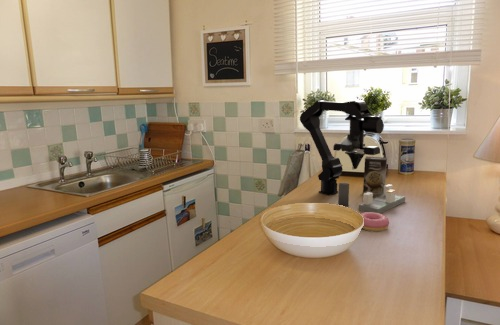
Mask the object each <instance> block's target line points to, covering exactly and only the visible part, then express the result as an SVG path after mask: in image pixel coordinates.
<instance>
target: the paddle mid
mask: <svg viewBox="0 0 500 325" xmlns="http://www.w3.org/2000/svg"><path fill="white" fill-rule="evenodd" d="M395 195H396V190H395V189H393V190H391V189H390V190H388V191H386V201H385V202H387V203H392V202H394V201H395Z"/></svg>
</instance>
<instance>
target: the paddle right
mask: <svg viewBox="0 0 500 325" xmlns="http://www.w3.org/2000/svg"><path fill="white" fill-rule="evenodd" d="M393 188H394V185H393V184H390V183H388V184H385V186H384V195H385V196H386V191H388V190H390V189H391V190H394V189H393Z"/></svg>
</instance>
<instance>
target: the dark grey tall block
mask: <svg viewBox="0 0 500 325" xmlns="http://www.w3.org/2000/svg"><path fill="white" fill-rule="evenodd" d="M337 194H338V196H337V197H338V199H337V200H338V202H337V205H338V204H339V205H343V206H348V207H349V201H350V200H349V198H350V196H349V195H350V183H349V182H338V193H337Z"/></svg>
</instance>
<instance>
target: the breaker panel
mask: <svg viewBox="0 0 500 325" xmlns="http://www.w3.org/2000/svg"><path fill="white" fill-rule="evenodd" d="M385 201H386V196H385V195H384V194H383V195H381V196H379V195H377V196H376V197H373V203H371V204H369V205H366V204H363V202H362V203H360V204H358V210H359V211H363V212H365V213H366V212H374V213H379V214H382V213H384V212H386V211H388V210H390V209H392V208H394V207H397V206H398V205H401V204H402V203H404V202H406V196H403V195H397V194H395V201H394V202H392V203H387V202H385Z"/></svg>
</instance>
